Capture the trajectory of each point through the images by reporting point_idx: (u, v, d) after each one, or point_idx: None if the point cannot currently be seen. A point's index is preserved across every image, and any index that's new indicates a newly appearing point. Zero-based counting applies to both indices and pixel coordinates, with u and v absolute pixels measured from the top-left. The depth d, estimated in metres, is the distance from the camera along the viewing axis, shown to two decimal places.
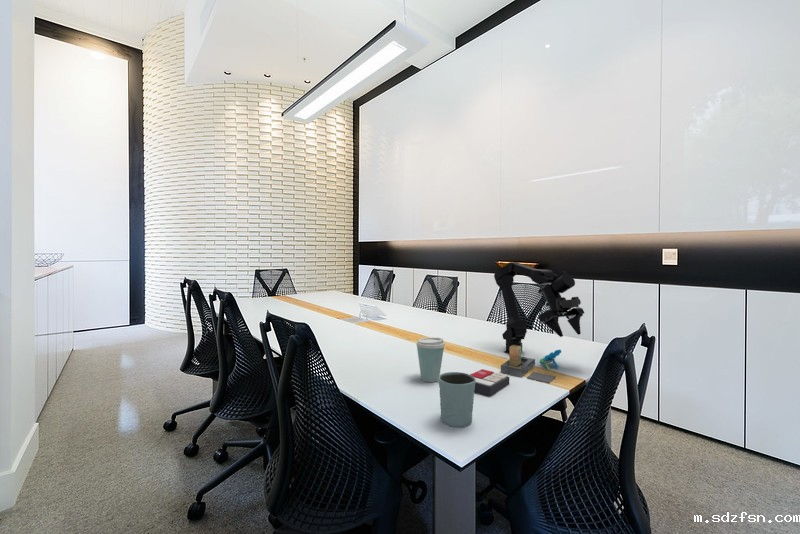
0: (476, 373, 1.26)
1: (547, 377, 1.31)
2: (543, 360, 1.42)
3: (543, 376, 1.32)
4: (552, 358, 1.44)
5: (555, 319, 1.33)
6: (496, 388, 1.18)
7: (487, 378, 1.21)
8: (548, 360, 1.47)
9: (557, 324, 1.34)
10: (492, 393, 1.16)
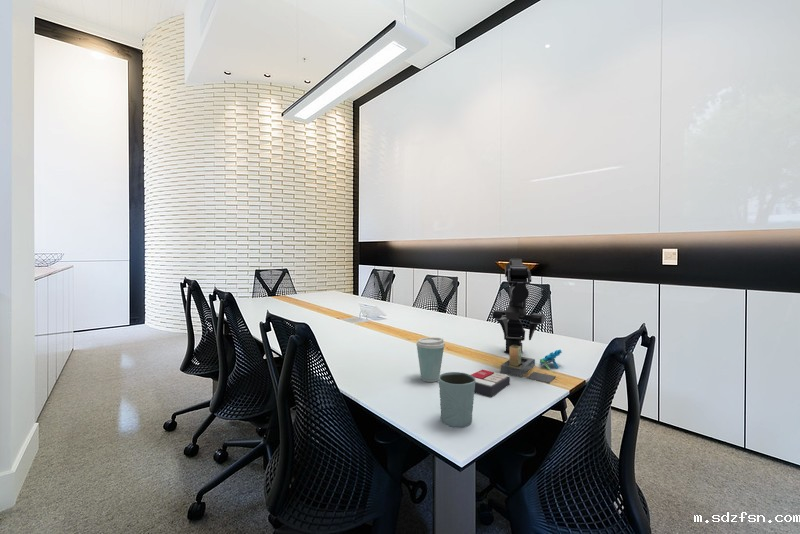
0: (476, 373, 1.26)
1: (547, 377, 1.31)
2: (543, 360, 1.42)
3: (543, 376, 1.32)
4: (552, 358, 1.44)
5: (499, 321, 1.39)
6: (497, 389, 1.17)
7: (488, 378, 1.21)
8: (548, 360, 1.47)
9: (502, 325, 1.39)
10: (493, 393, 1.15)
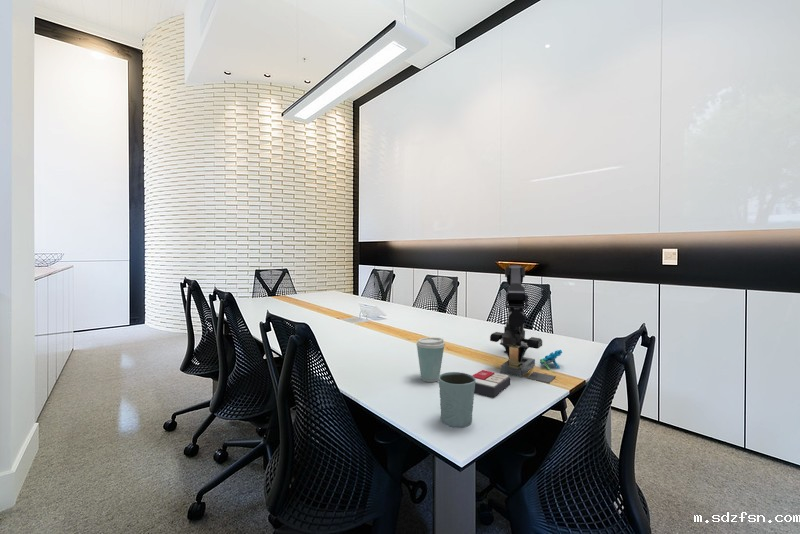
0: (477, 374, 1.25)
1: (547, 377, 1.31)
2: (543, 360, 1.42)
3: (543, 376, 1.32)
4: (553, 358, 1.43)
5: (503, 345, 1.38)
6: (499, 389, 1.17)
7: (489, 379, 1.20)
8: (549, 360, 1.46)
9: (506, 349, 1.38)
10: (496, 394, 1.15)
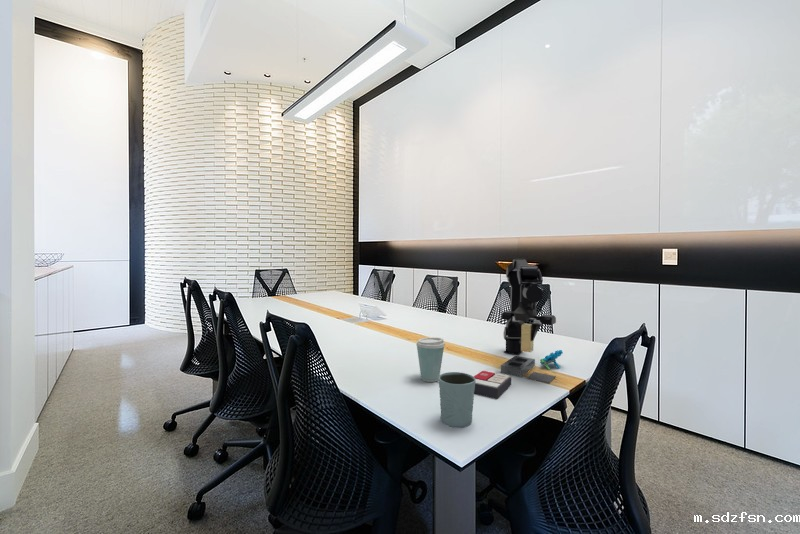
0: (478, 375, 1.25)
1: (547, 377, 1.31)
2: (543, 360, 1.42)
3: (543, 376, 1.32)
4: (553, 358, 1.43)
5: (515, 323, 1.34)
6: (501, 390, 1.16)
7: (491, 380, 1.20)
8: (549, 360, 1.46)
9: (519, 328, 1.35)
10: (499, 395, 1.14)
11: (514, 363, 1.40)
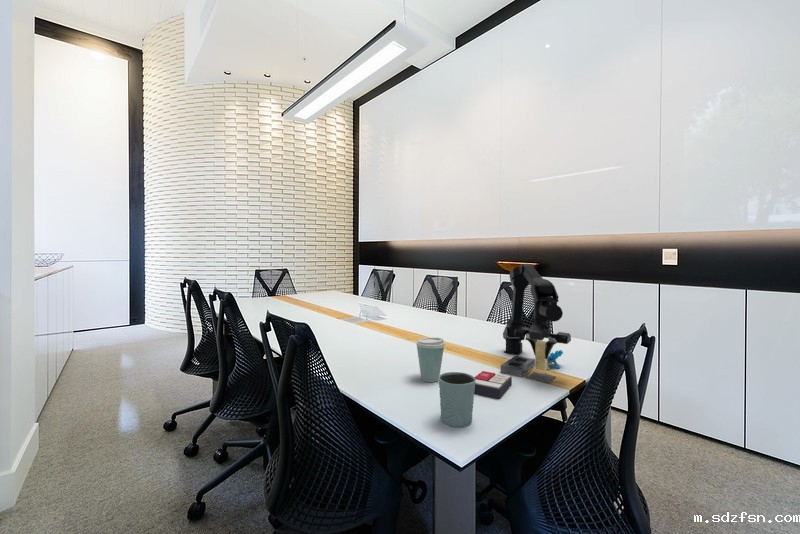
0: (479, 375, 1.24)
1: (547, 377, 1.31)
2: None
3: (543, 376, 1.32)
4: (553, 359, 1.43)
5: (529, 341, 1.31)
6: (503, 390, 1.16)
7: (493, 380, 1.19)
8: (550, 361, 1.46)
9: (532, 345, 1.32)
10: (501, 395, 1.14)
11: (514, 363, 1.40)
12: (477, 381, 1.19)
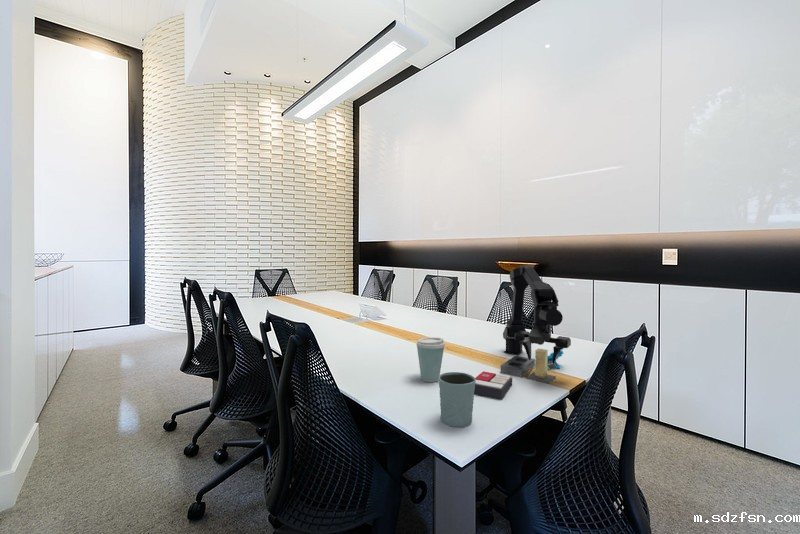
0: (480, 376, 1.24)
1: (547, 377, 1.31)
2: None
3: None
4: None
5: (522, 344, 1.33)
6: (505, 391, 1.16)
7: (494, 380, 1.19)
8: (550, 361, 1.46)
9: (526, 348, 1.33)
10: (503, 396, 1.13)
11: (514, 363, 1.40)
12: (479, 382, 1.18)
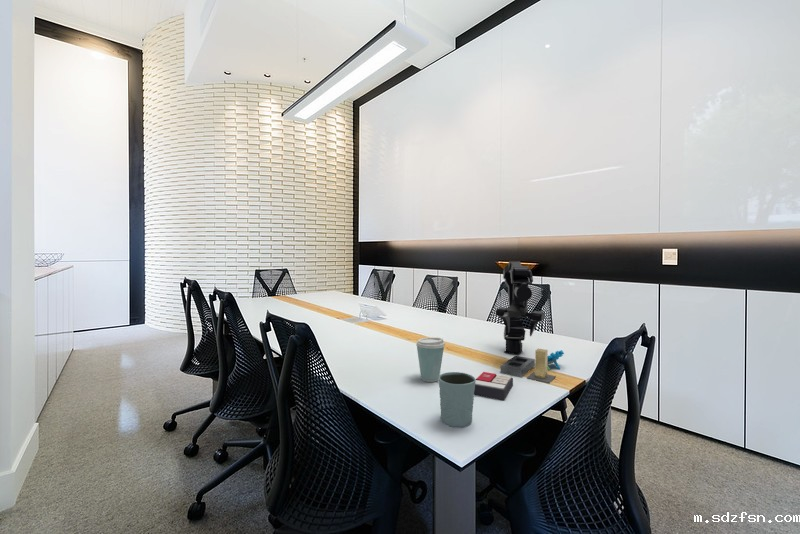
0: (481, 376, 1.23)
1: (547, 377, 1.31)
2: None
3: None
4: (553, 359, 1.43)
5: (502, 318, 1.48)
6: (507, 391, 1.15)
7: (495, 381, 1.19)
8: (550, 361, 1.46)
9: (505, 322, 1.49)
10: (505, 396, 1.13)
11: (514, 363, 1.40)
12: (480, 382, 1.17)
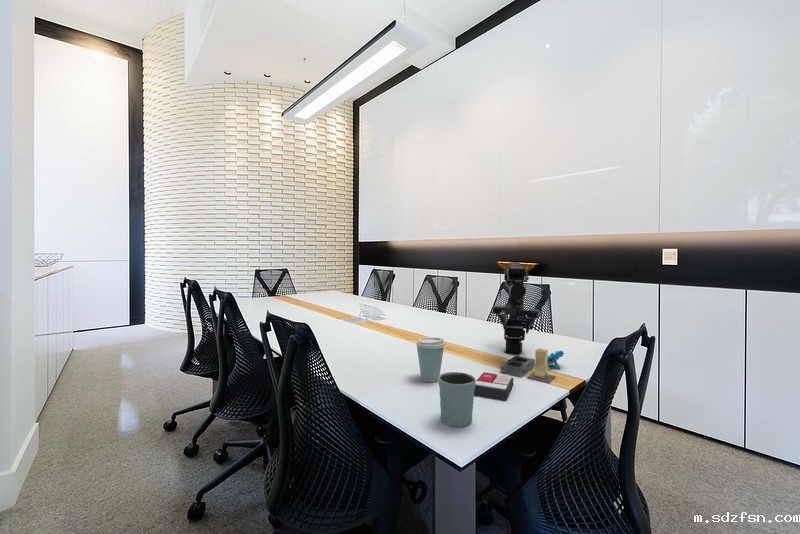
0: (482, 377, 1.23)
1: (547, 377, 1.31)
2: None
3: None
4: (554, 359, 1.43)
5: (499, 316, 1.51)
6: (508, 391, 1.15)
7: (497, 381, 1.18)
8: (551, 361, 1.46)
9: (502, 320, 1.51)
10: (507, 396, 1.13)
11: (514, 363, 1.40)
12: (482, 383, 1.17)
